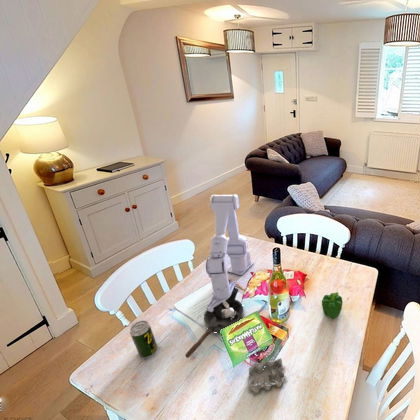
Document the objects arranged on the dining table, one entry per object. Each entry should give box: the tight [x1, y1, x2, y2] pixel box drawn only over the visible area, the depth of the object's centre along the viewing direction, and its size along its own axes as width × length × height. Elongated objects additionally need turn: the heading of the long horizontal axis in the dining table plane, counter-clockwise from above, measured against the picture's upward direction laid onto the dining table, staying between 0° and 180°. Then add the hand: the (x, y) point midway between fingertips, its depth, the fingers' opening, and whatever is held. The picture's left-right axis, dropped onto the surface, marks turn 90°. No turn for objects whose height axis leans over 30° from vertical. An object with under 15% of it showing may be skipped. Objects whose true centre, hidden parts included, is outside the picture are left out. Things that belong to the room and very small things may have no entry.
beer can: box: [129, 320, 158, 359], centre depth 89 cm, size 5×5×12 cm
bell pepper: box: [321, 291, 343, 320], centre depth 106 cm, size 8×8×10 cm
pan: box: [203, 299, 245, 335], centre depth 104 cm, size 14×14×4 cm
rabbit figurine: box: [222, 301, 236, 320], centre depth 105 cm, size 6×4×8 cm
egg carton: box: [248, 358, 285, 394], centre depth 83 cm, size 11×8×4 cm
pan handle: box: [184, 327, 213, 359], centre depth 92 cm, size 12×2×2 cm, turn 161°
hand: (225, 311), depth 105 cm, fingers open, 7 cm apart
